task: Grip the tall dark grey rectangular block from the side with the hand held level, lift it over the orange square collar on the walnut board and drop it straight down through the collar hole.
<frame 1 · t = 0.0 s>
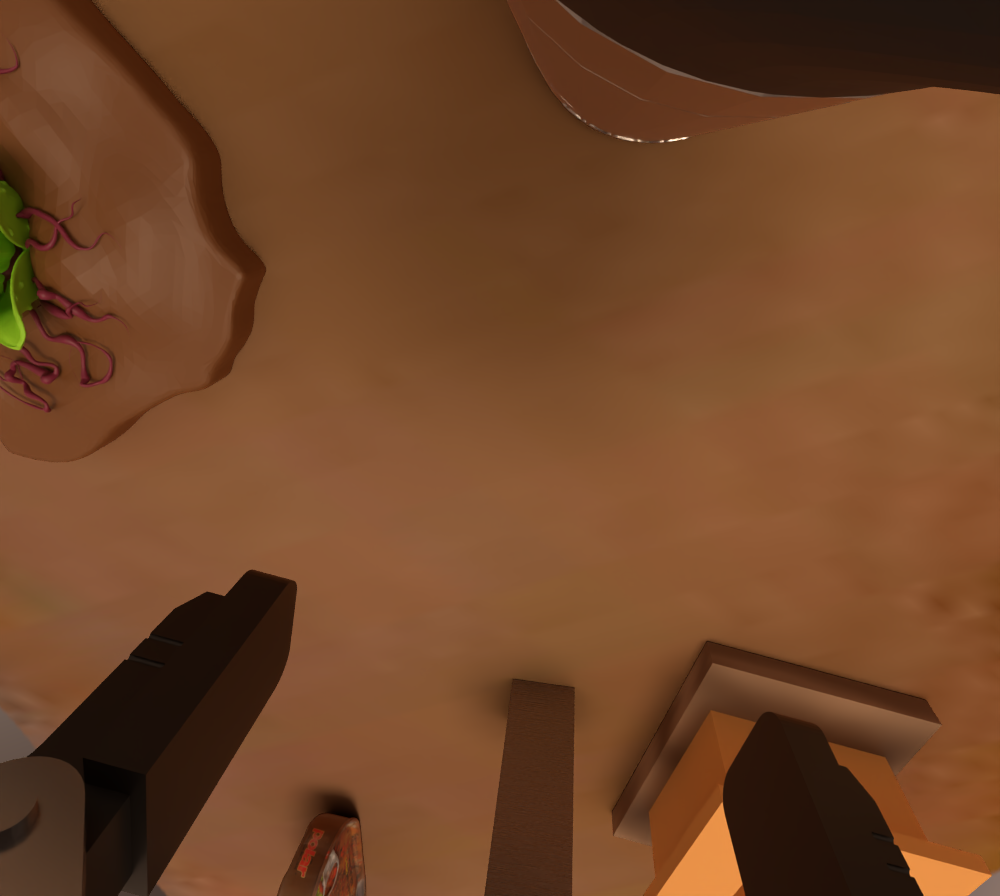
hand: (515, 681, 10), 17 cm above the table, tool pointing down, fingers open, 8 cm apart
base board: (752, 762, 34), on the table
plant: (32, 220, 26), on the table
dark grey rectangular block: (540, 704, 35), on the table
tin: (344, 845, 45), on the table
orange square collar: (774, 841, 30), on the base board, point 4 cm above the table
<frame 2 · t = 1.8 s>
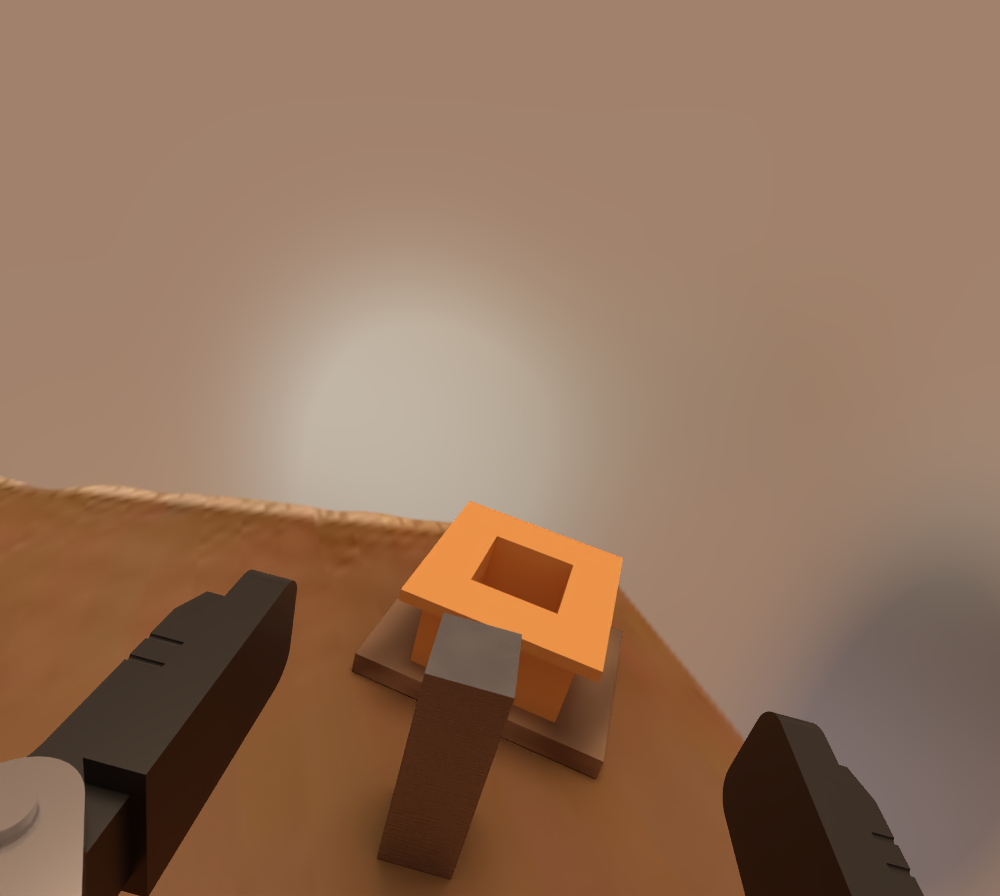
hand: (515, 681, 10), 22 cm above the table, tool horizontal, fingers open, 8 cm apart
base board: (497, 657, 40), on the table
dark grey rectangular block: (422, 830, 29), on the table
orange square collar: (513, 607, 39), on the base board, point 4 cm above the table
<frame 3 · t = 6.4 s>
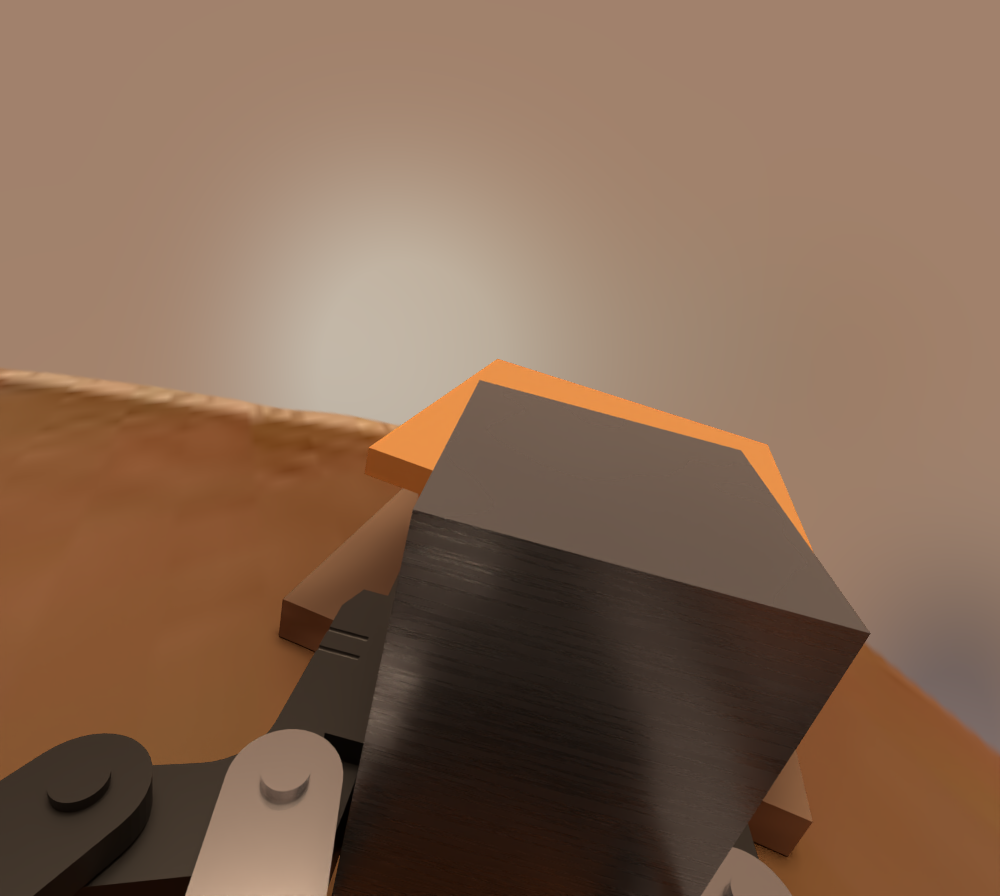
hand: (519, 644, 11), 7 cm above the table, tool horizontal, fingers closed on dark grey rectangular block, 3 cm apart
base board: (552, 616, 23), on the table
orange square collar: (586, 520, 21), on the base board, point 4 cm above the table
when the fingers open (16 cm above the table, at t = 10.5 s): dark grey rectangular block drops 7 cm, resting on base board.
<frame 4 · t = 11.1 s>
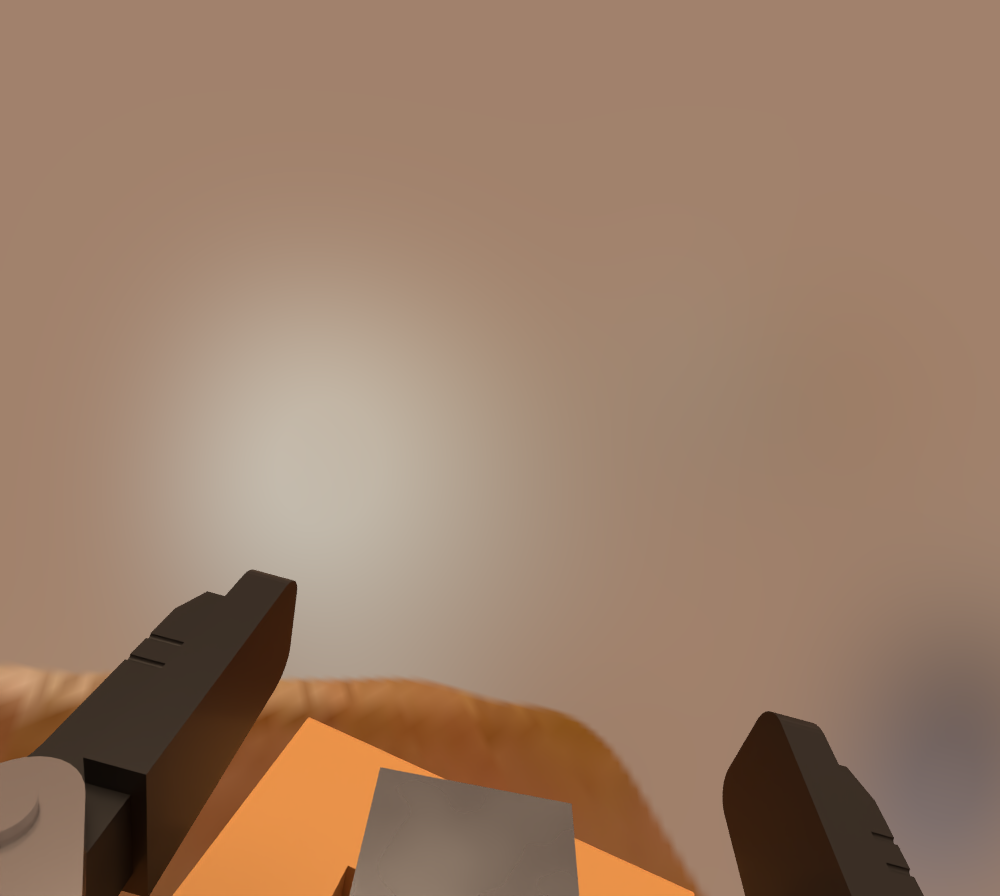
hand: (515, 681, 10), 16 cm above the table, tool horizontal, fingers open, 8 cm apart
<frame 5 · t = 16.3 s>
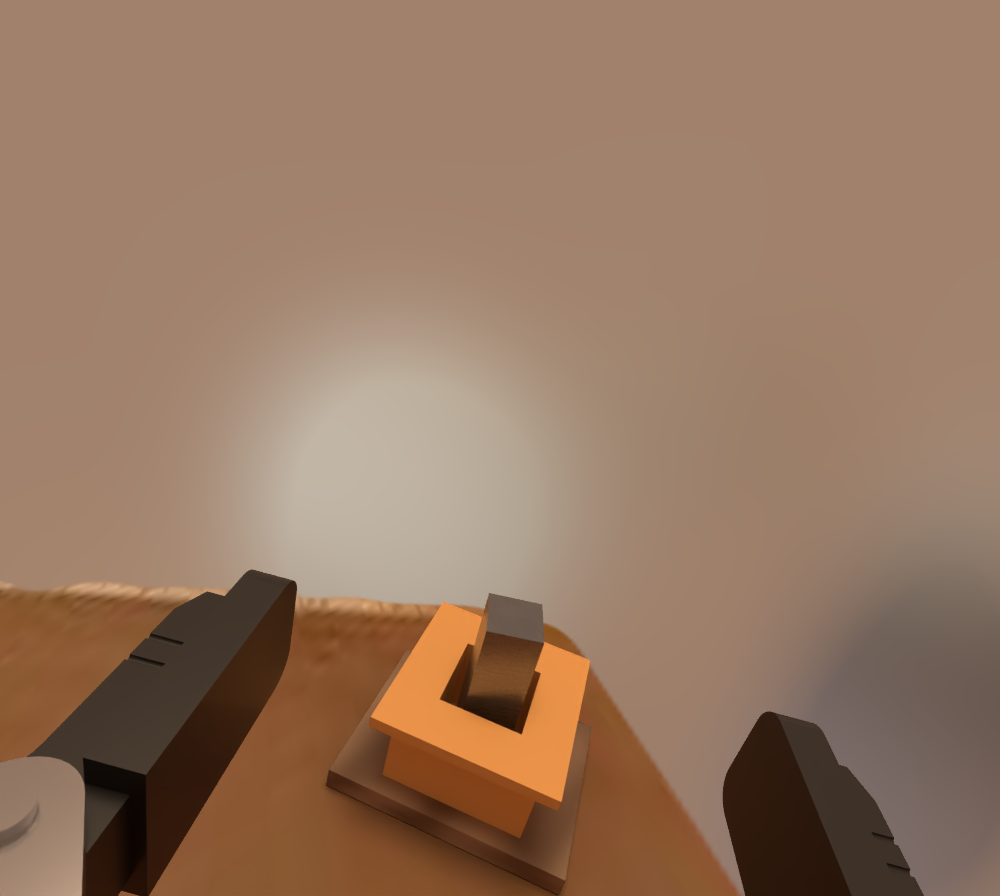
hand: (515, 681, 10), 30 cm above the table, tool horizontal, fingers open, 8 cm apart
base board: (468, 760, 42), on the table
dark grey rectangular block: (474, 746, 41), point 1 cm above the table, touching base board
orange square collar: (482, 716, 40), on the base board, point 4 cm above the table
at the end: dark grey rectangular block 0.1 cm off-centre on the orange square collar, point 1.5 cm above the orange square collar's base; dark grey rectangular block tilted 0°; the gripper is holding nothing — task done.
